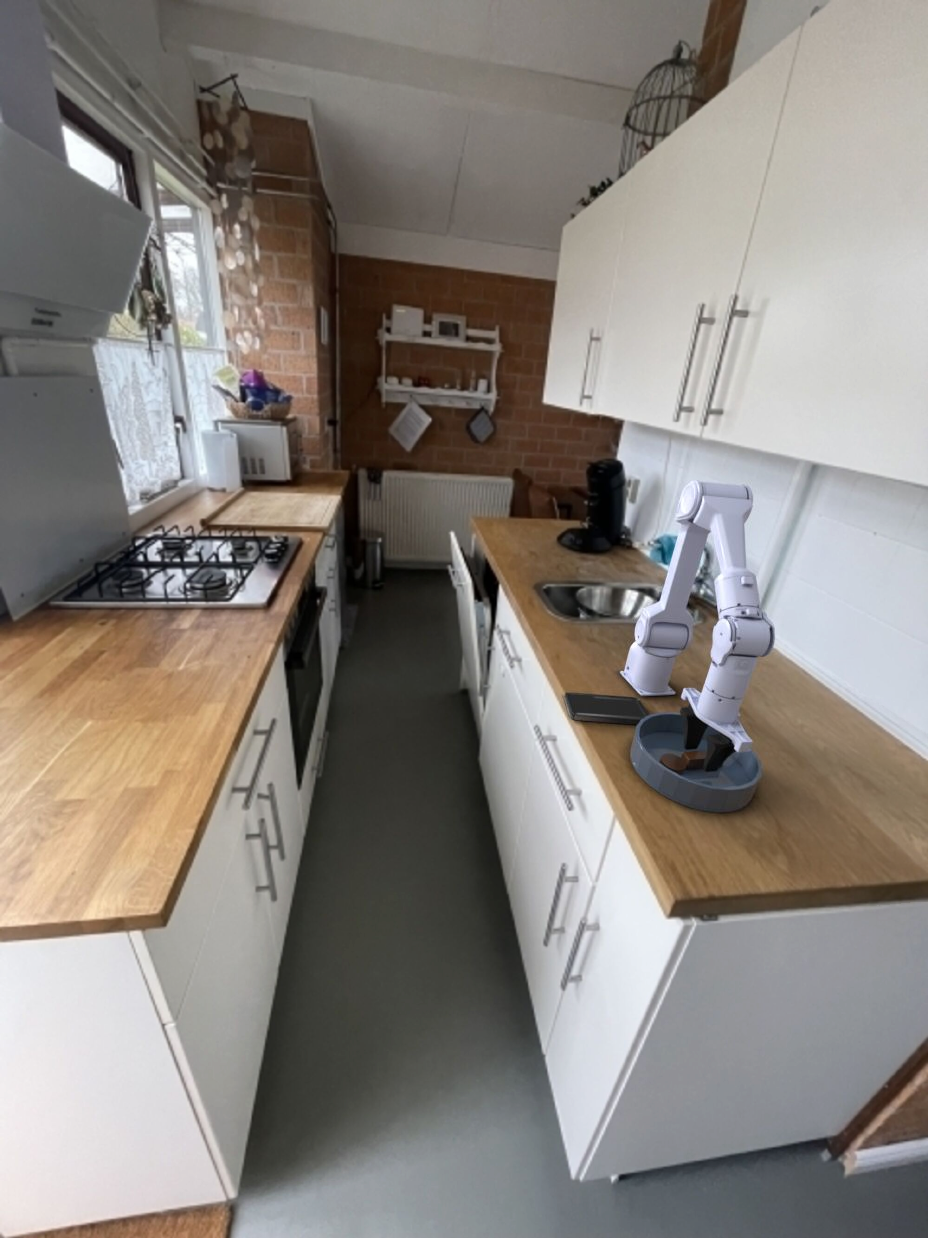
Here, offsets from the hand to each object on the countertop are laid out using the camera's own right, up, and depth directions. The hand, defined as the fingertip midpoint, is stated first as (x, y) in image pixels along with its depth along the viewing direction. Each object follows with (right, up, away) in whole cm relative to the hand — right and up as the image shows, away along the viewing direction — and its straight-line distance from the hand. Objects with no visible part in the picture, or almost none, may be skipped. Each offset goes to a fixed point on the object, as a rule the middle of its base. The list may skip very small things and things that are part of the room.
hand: (699, 758), depth 84 cm
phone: (-12, +5, +14) cm, 19 cm away
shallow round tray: (-2, -2, 0) cm, 2 cm away
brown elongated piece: (-2, -1, 0) cm, 2 cm away
